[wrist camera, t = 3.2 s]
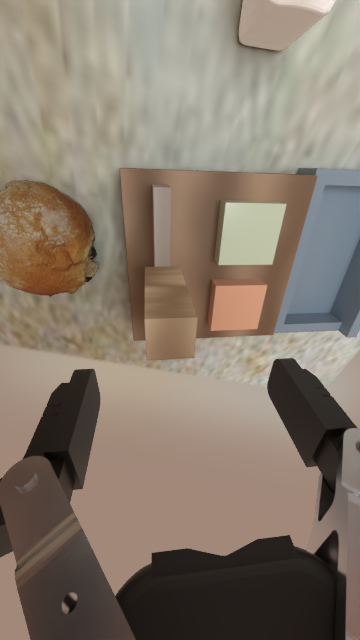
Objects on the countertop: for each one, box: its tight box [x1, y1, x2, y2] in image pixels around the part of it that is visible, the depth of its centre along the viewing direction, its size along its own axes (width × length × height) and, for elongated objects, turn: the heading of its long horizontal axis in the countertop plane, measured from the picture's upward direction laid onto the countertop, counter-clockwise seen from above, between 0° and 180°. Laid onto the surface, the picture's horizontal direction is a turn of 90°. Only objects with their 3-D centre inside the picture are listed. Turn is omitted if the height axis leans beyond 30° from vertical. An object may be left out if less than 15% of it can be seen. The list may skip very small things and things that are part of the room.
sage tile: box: [214, 200, 286, 265], centre depth 21 cm, size 5×5×2 cm
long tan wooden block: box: [145, 184, 197, 360], centre depth 18 cm, size 3×14×11 cm, turn 178°
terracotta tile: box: [207, 279, 267, 331], centre depth 25 cm, size 5×5×2 cm
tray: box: [274, 168, 360, 337], centre depth 27 cm, size 10×17×4 cm, turn 178°
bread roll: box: [0, 180, 98, 296], centre depth 22 cm, size 10×10×8 cm
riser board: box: [120, 168, 318, 341], centre depth 25 cm, size 16×16×4 cm
